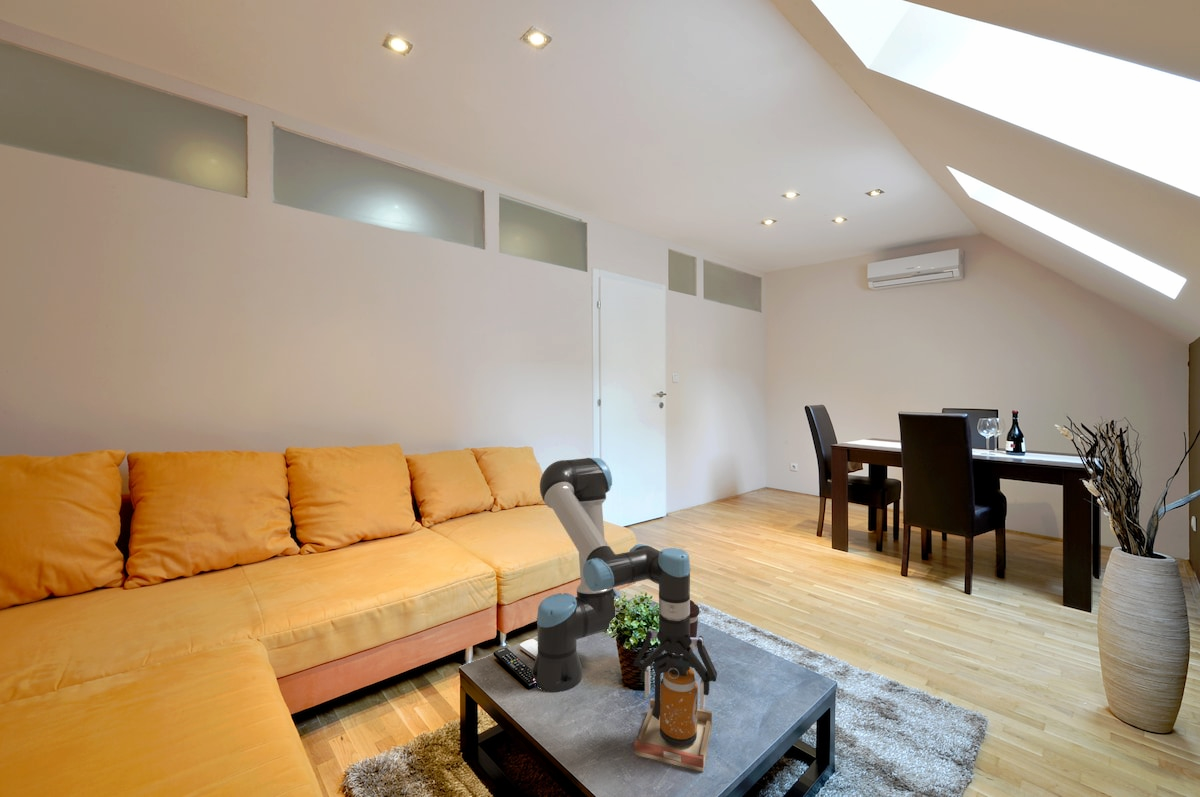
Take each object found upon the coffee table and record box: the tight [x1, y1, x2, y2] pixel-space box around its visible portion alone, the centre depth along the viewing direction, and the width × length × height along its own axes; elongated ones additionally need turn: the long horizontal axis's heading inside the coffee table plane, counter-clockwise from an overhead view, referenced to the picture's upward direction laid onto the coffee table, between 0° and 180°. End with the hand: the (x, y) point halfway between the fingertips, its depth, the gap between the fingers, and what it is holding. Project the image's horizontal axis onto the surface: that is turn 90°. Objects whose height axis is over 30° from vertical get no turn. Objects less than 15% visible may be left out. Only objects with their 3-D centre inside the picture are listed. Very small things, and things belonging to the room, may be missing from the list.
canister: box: [651, 652, 699, 746], centre depth 118 cm, size 9×11×20 cm
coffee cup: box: [689, 599, 700, 651], centre depth 162 cm, size 10×10×15 cm
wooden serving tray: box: [633, 698, 713, 773], centre depth 118 cm, size 16×16×4 cm
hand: (674, 700), depth 118 cm, fingers open, 13 cm apart
